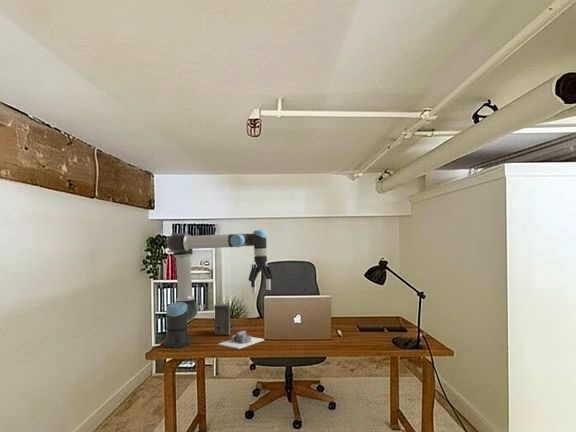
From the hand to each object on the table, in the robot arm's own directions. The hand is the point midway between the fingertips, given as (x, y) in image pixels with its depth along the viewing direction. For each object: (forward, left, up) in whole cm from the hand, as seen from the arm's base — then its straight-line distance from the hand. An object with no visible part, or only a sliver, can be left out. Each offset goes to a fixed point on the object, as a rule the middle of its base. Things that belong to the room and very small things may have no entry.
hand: (261, 291), depth 260 cm
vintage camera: (+1, +32, -29) cm, 43 cm away
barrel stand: (-12, +6, -29) cm, 32 cm away
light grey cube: (-12, +6, -28) cm, 31 cm away
